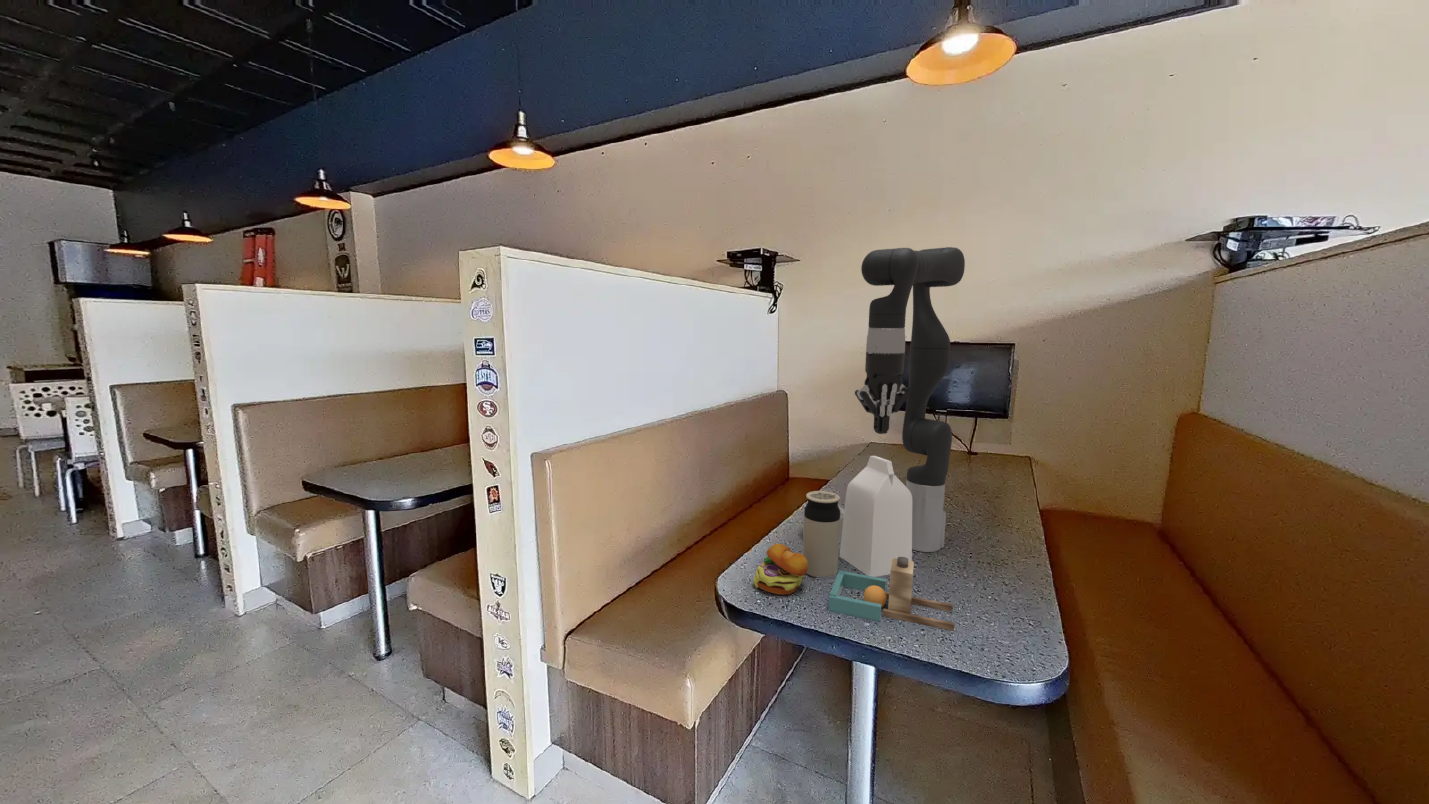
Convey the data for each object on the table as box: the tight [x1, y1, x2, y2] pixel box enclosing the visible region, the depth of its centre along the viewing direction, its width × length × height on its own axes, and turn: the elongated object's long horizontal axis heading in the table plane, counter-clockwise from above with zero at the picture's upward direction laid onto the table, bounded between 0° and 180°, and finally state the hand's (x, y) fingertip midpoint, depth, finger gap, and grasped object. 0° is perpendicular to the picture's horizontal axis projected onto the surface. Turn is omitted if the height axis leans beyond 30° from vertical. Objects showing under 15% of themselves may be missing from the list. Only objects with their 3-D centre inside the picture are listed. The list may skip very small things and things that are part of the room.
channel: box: [882, 591, 955, 632], centre depth 101 cm, size 12×8×1 cm, turn 68°
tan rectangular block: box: [887, 557, 915, 614], centre depth 101 cm, size 4×6×10 cm, turn 158°
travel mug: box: [802, 490, 841, 578], centre depth 118 cm, size 8×8×18 cm
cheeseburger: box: [752, 543, 808, 595], centre depth 112 cm, size 10×11×10 cm
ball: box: [863, 585, 888, 608], centre depth 104 cm, size 4×4×4 cm
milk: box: [839, 455, 913, 578], centre depth 121 cm, size 12×12×26 cm
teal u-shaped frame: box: [827, 570, 887, 622], centre depth 105 cm, size 10×12×4 cm
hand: (880, 433), depth 109 cm, fingers closed
